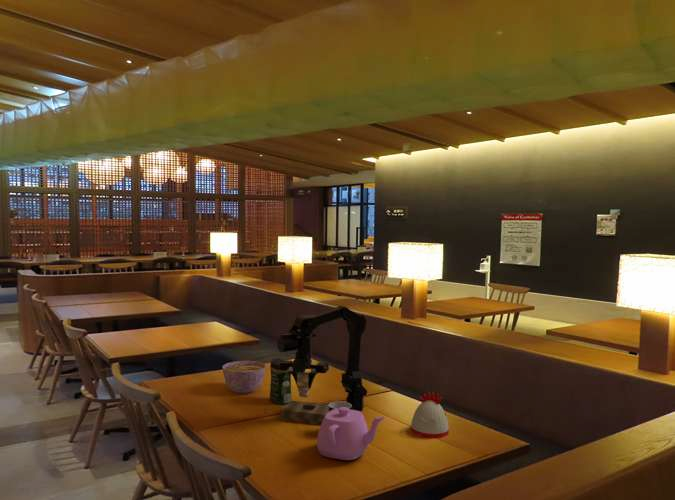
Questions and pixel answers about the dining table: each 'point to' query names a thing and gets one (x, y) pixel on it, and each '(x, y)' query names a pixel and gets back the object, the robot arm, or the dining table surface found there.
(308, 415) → the grey block with hole
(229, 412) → the dining table surface
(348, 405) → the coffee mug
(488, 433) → the dining table surface
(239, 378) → the bowl of food
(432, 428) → the kitchen timer
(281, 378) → the coffee jar
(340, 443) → the teapot
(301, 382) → the wooden post
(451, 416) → the dining table surface
